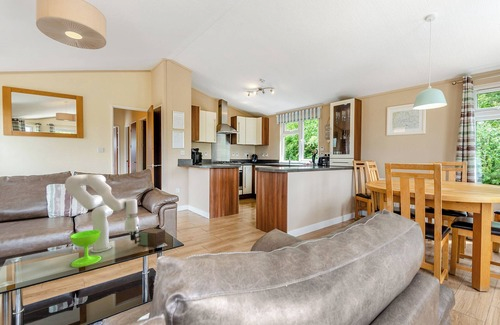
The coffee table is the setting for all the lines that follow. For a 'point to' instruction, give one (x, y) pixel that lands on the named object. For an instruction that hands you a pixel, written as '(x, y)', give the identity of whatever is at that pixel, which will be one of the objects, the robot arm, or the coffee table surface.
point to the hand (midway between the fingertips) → (133, 239)
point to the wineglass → (85, 247)
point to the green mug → (142, 239)
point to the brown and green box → (154, 237)
